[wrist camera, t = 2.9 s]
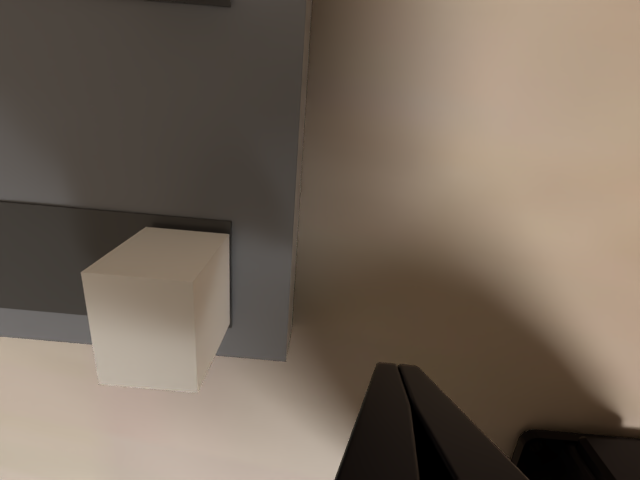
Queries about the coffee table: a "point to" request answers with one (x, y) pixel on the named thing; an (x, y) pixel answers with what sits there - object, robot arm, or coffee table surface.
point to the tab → (159, 308)
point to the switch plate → (150, 151)
